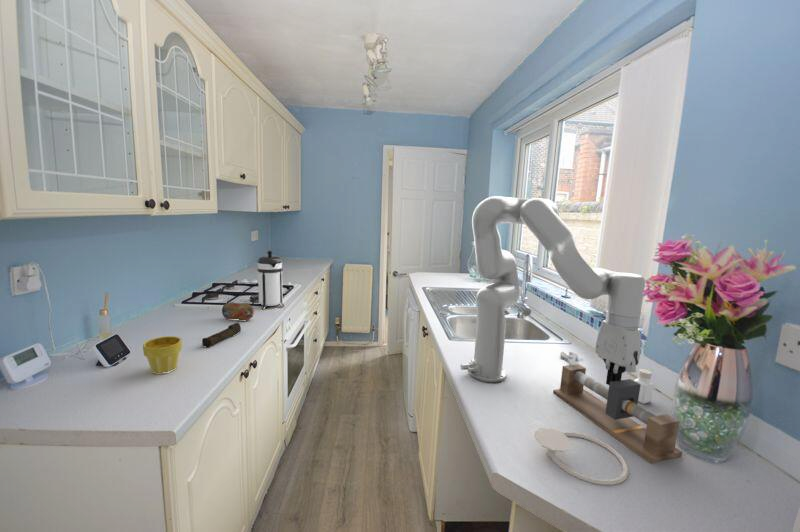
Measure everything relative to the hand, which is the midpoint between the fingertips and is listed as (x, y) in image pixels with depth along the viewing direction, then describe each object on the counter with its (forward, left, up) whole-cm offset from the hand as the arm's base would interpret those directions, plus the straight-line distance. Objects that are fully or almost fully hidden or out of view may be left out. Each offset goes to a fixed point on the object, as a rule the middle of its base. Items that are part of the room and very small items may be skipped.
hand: (612, 384), depth 97 cm
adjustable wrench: (+15, +30, -11) cm, 35 cm away
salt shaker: (+19, +6, -11) cm, 22 cm away
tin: (-107, +108, -11) cm, 152 cm away
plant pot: (-123, +58, -11) cm, 136 cm away
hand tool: (-110, +83, -11) cm, 138 cm away
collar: (0, -3, -7) cm, 8 cm away
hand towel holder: (-20, -10, -11) cm, 25 cm away
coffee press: (-94, +130, -11) cm, 161 cm away
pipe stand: (0, 0, -10) cm, 10 cm away
